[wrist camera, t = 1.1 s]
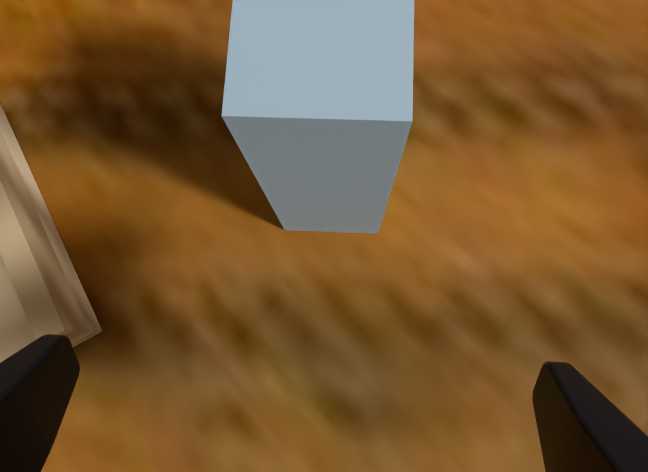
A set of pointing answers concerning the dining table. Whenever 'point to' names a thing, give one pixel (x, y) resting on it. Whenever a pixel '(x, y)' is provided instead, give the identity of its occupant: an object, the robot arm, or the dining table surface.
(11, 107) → the dining table surface
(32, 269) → the channel
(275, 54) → the light blue block
